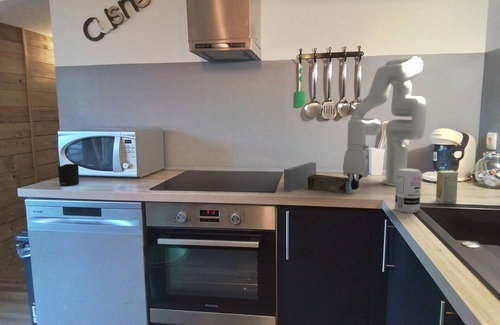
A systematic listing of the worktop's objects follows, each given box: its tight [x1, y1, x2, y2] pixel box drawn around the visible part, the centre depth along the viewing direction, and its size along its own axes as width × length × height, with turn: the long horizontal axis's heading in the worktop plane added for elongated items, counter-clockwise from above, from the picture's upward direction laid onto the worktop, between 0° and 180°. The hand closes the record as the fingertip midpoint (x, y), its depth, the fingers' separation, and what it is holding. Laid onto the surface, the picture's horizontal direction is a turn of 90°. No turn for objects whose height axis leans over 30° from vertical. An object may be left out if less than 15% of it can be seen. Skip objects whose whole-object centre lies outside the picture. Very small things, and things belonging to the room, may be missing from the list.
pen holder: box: [56, 163, 80, 187], centre depth 182 cm, size 9×9×10 cm
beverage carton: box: [307, 173, 353, 195], centre depth 166 cm, size 8×19×7 cm, turn 56°
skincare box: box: [435, 170, 459, 204], centre depth 143 cm, size 6×4×12 cm
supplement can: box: [394, 167, 423, 214], centre depth 130 cm, size 8×8×15 cm
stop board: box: [283, 161, 317, 193], centre depth 174 cm, size 3×28×10 cm, turn 145°
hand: (354, 189), depth 159 cm, fingers closed
